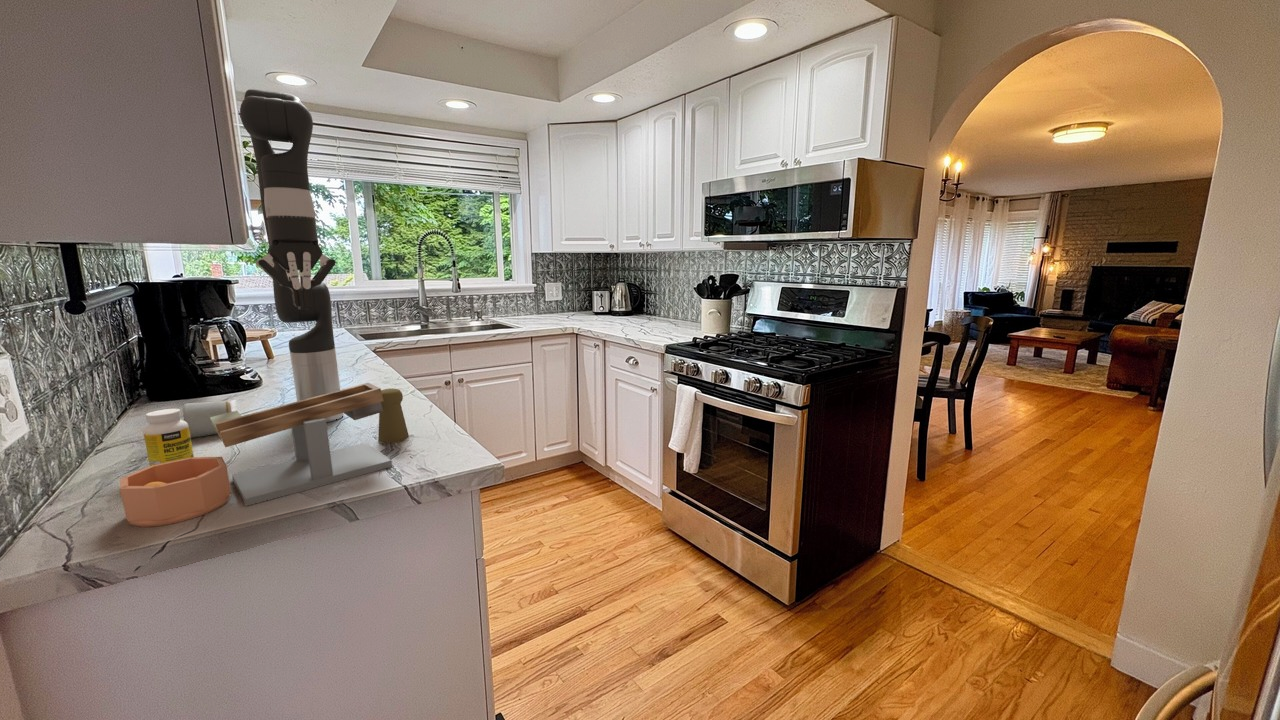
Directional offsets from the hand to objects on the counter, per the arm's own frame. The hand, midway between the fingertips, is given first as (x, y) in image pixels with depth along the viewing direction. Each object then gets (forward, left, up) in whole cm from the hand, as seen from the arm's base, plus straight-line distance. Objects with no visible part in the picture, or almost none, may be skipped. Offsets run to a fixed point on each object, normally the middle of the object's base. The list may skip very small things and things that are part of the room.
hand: (303, 309), depth 98 cm
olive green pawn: (+2, +13, -29) cm, 32 cm away
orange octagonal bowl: (+11, -22, -29) cm, 38 cm away
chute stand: (+11, -4, -29) cm, 31 cm away
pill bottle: (-11, -22, -29) cm, 38 cm away
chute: (+6, -4, -20) cm, 22 cm away
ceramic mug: (-33, -15, -29) cm, 46 cm away
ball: (+11, -25, -26) cm, 38 cm away
